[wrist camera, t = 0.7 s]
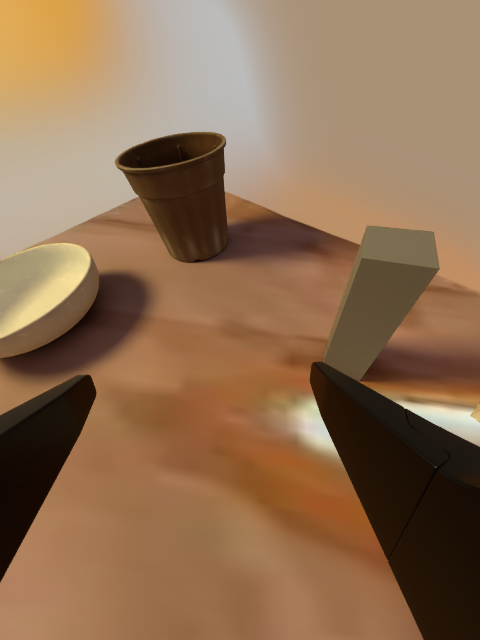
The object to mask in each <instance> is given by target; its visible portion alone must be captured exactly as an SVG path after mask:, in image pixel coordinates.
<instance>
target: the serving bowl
mask: <svg viewBox="0 0 480 640" xmlns="http://www.w3.org/2000/svg"><path fill="white" fill-rule="evenodd" d="M98 288H99V274H98V270H97V267H96V264H95V262H94V260H93V258H92V256H91V254H90V253H89V252H88V250H86V249H85V248H83V247H82V246H79V245H75V244H69V243H56V244H48V245H42V246H38V247H34V248H30V249H27V250H24V251H21V252H18V253H15V254H13V255H10V256H8V257H5V258H3V259H1V260H0V358H5V357H10V356H15V355H19V354H23V353H26V352H29V351H32V350H34V349H37V348H39V347H41V346H43V345H46V344H48V343H49V342H51V341H53V340H55V339H57V338H58V337H60V336H61V335H63V334H64V333H65V332H67V331H68V330H70V329H71V328H72V327H73V326H74V325H75V324H77V323H78V322H79V321H80V320H81V319H82V318H83V317H84V315H85V314H86V313H87V312H88V310H89V309H90V307H91V306H92V304H93V302H94V300H95V298H96V295H97V292H98Z"/></svg>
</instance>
